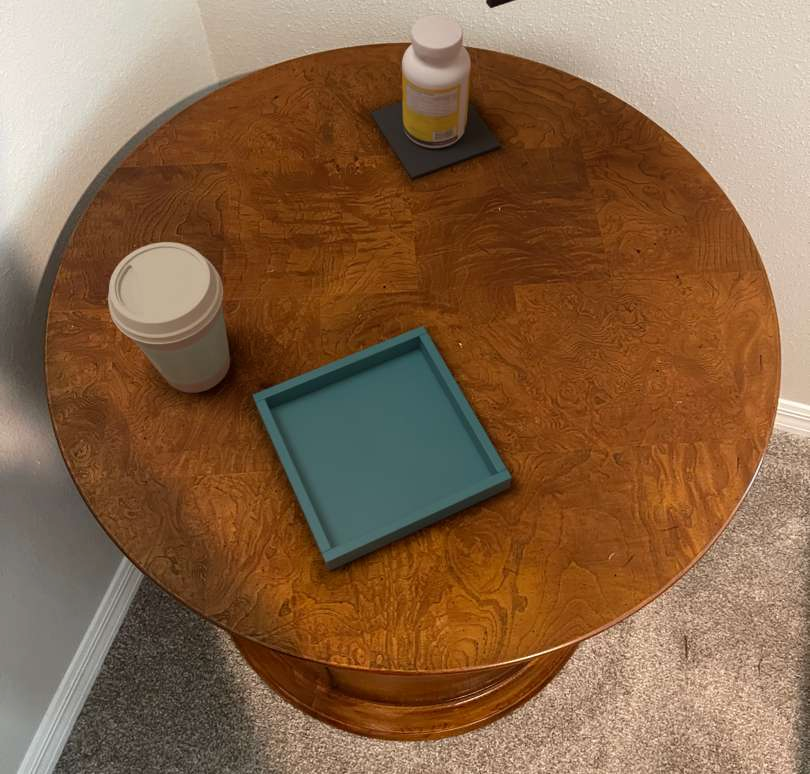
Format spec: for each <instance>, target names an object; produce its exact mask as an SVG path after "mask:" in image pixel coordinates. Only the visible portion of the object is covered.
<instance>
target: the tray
mask: <svg viewBox="0 0 810 774" xmlns="http://www.w3.org/2000/svg"><path fill="white" fill-rule="evenodd" d="M252 399H253V401H254V404H255V407H256V410H257V412H258V414H259V416H260V419H261V421H262V424H263V426H264V428H265V430H266V432H267V435H268V437H269V439H270V440H271V444H272V447H273V448H274V451H275V453H276V455H277V457H278V459H279V462H280V465H281V467H282V469H283V471H284V473H285V476H286V478H287V480H288V482H289V485H290V487H291V489H292V492H293V495H294V496H295V498H296V500H297V503H298V505H299V508H300V509H301V510H300V511H301V512H302V514H303V517H304V519H305V521H306V523H307V526H308V528H309V530H310V532H311V534H312V538H313V540H314V541H315V543H316V546H317V548H318V550H319V553H320V555H321V558H322V560H323V562H324V564H325V566H326V567H325V568H326V569H327V571H328V572H331V571H332V570H334V569H337V568H339V567H341V566H344V565H346V564H348V563H350V562H352V561H354V560H356V559H358V558H361V557H363V556H365V555H367V554H369V553H372V552H374V551H376V550H378V549H381V548H382V547H385V546H386V545H389V544H392V543H393V542H395V541H398V540H400V539H402V538H404V537H407V536H408V535H411V534H413V533H415V532H417V531H419V530H421V529H423V528H427V527H428V526H430V525H433V524H435V523H436V522H439V521H441V520H443V519H445V518H448V517H450V516H452V515H454V514H456V513H458V512H460V511H461V512H462V510H465V509H468V508H470V507H472V506H473V505H476V504H478V503H480V502H482V501H485V500H487V499H490V498H491V497H493V496H495V495H498V494H500V493H502V492H504V491H506V490H508V489H510V486H511V482H512V475H511V473H510V471H509V470H508V468H507V467H506V465H505V463H504V461H503V460H502V458H501V456H500V455H499V453H498V452H497V450H496V448H495V446H494V444H493V442H492V441H491V439H490V437H489V436H488V434H487V432H486V431H485V429H484V427H483V426H482V424H481V422H480V420H479V418H478V417H477V415H476V414H475V412H474V410H473V409H472V406H471V405H470V403H469V401H468V399H467V398H466V396H465V394H464V393H463V392H462V389H461V388H460V386H459V384H458V383H457V381H456V380H455V378H454V376H453V374H452V372H451V371H450V369H449V367H448V365H447V363H446V362H445V361H444V358H443V357H442V355H441V354H440V352H439V350H438V349H437V347H436V345H435V344H434V341H433V339H432V338H431V336H430V334H429V333H428V331H427V330H426V328H425V326H424V325H421V326H419V327H416V328H413V329H412V330H408V331H406V332H404V333H402V334H399V335H397V336H394V337H391V338H389V339H387V340H383V341H381V342H380V343H377V344H374V345H371V346H369V347H367V348H365V349H364V348H363V349H362V350H360V351H357V352H355V353H352V354H349V355H347V356H345V357H342V358H340V359H337V360H335V361H333V362H330V363H327V364H325V365H323V366H320V367H318V368H315V369H313V370H309V371H308V372H305V373H303V374H300V375H298V376H295V377H293V378H290V379H288V380H285V381H283V382H280V383H278V384H275V385H273V386H270V387H267V388H266V389H262V390H261V391H258V392H256V393H253V394H252Z"/></svg>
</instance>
